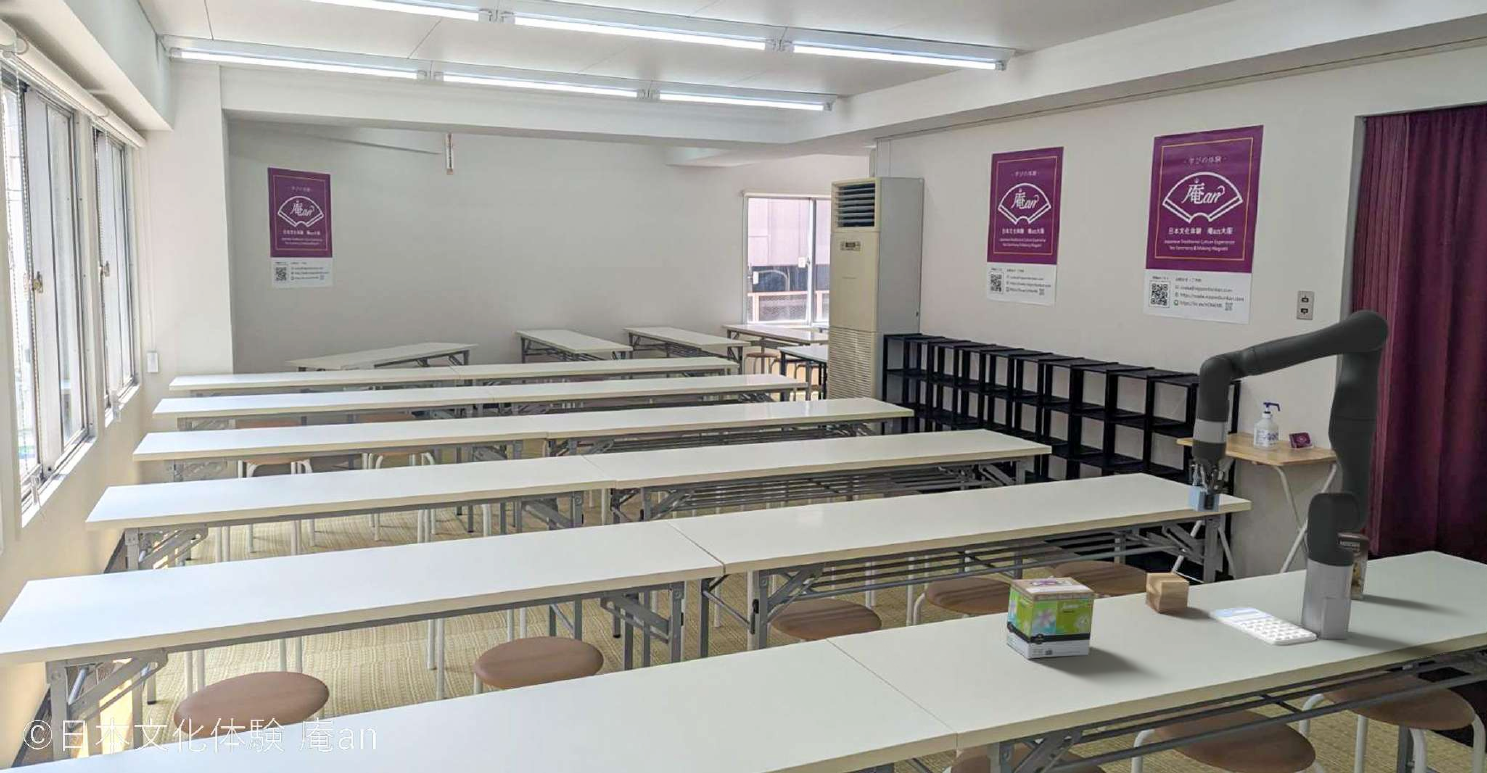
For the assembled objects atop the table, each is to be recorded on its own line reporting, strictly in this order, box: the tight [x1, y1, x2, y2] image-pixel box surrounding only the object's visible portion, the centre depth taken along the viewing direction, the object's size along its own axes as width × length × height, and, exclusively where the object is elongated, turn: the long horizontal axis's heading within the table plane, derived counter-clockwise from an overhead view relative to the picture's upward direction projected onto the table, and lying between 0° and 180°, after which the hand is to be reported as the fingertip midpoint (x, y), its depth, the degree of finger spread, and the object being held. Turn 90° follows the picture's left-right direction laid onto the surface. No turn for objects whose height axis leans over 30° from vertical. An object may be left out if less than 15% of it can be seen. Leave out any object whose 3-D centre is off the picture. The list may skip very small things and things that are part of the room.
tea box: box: [1004, 576, 1096, 660], centre depth 224 cm, size 15×10×15 cm
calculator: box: [1208, 606, 1318, 646], centre depth 243 cm, size 13×20×2 cm, turn 21°
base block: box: [1145, 589, 1189, 615], centre depth 254 cm, size 7×7×4 cm
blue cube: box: [1187, 485, 1221, 513], centre depth 251 cm, size 5×5×5 cm
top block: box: [1145, 572, 1190, 599], centre depth 253 cm, size 7×7×4 cm
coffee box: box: [1338, 532, 1371, 601], centre depth 268 cm, size 9×6×16 cm
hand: (1202, 505), depth 252 cm, fingers closed on blue cube, 5 cm apart
